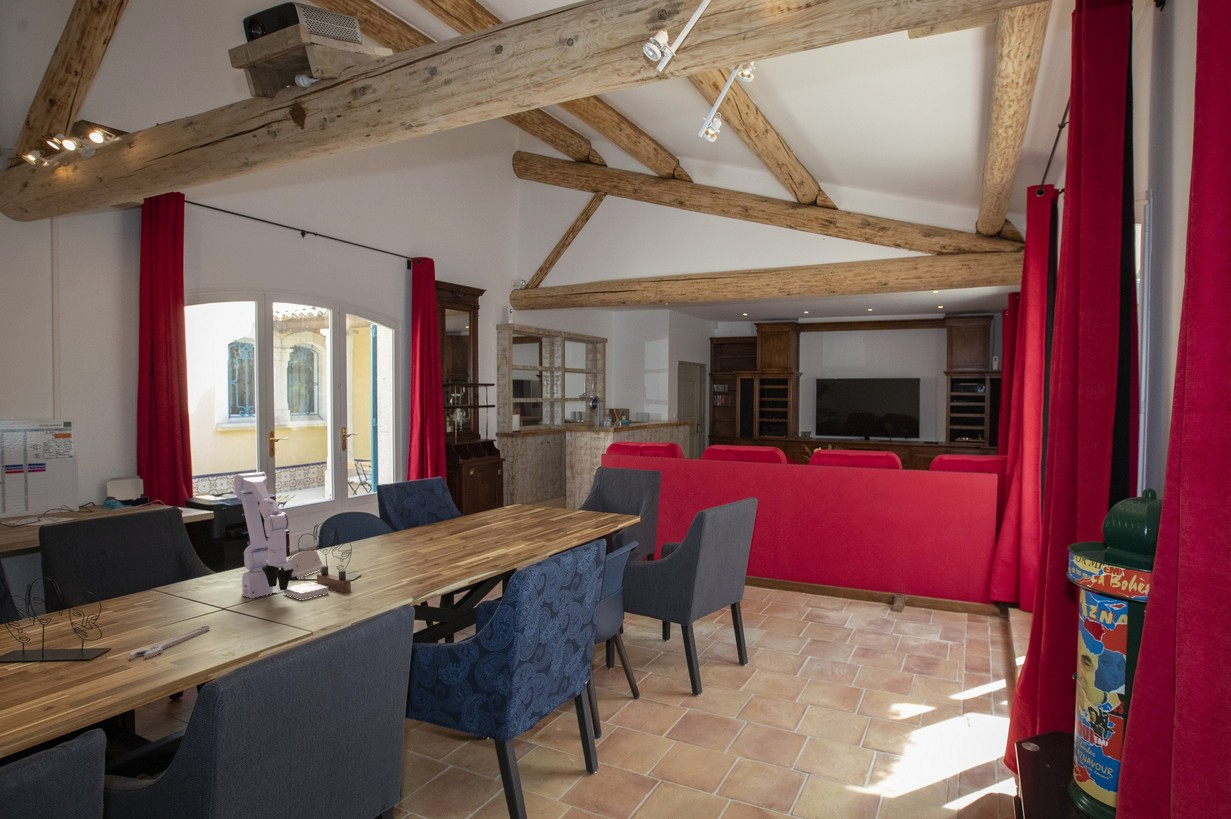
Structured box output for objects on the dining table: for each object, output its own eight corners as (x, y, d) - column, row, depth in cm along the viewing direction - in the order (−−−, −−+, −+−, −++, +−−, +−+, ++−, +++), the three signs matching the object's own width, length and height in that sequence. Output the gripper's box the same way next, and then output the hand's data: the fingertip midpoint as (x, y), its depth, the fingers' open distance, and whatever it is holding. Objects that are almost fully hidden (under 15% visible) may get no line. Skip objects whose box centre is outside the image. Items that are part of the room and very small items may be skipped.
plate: (301, 602, 243) (300, 593, 243) (284, 596, 251) (283, 587, 251) (328, 595, 251) (328, 587, 251) (311, 590, 259) (310, 581, 259)
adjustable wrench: (204, 630, 214) (204, 624, 214) (221, 632, 213) (221, 626, 213) (125, 659, 191) (125, 652, 191) (143, 661, 189) (143, 655, 189)
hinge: (297, 579, 272) (289, 554, 273) (288, 582, 274) (280, 558, 274) (326, 569, 288) (319, 545, 289) (317, 572, 290) (310, 549, 291)
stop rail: (343, 592, 252) (342, 573, 252) (317, 585, 264) (316, 566, 263) (350, 590, 255) (350, 571, 255) (324, 583, 266) (324, 564, 266)
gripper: (298, 549, 241) (300, 588, 242) (278, 544, 250) (279, 582, 251) (278, 552, 236) (279, 593, 236) (258, 548, 245) (259, 586, 245)
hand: (278, 588), depth 243 cm, fingers open, 7 cm apart
